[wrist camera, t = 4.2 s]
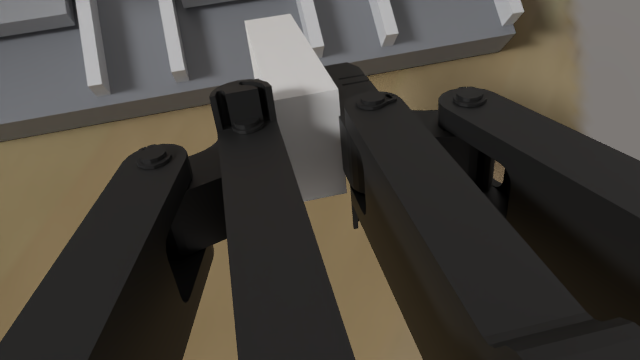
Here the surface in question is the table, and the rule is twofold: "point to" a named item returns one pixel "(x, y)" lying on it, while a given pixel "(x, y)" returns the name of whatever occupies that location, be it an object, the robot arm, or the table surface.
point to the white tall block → (200, 2)
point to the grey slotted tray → (216, 52)
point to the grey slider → (34, 15)
